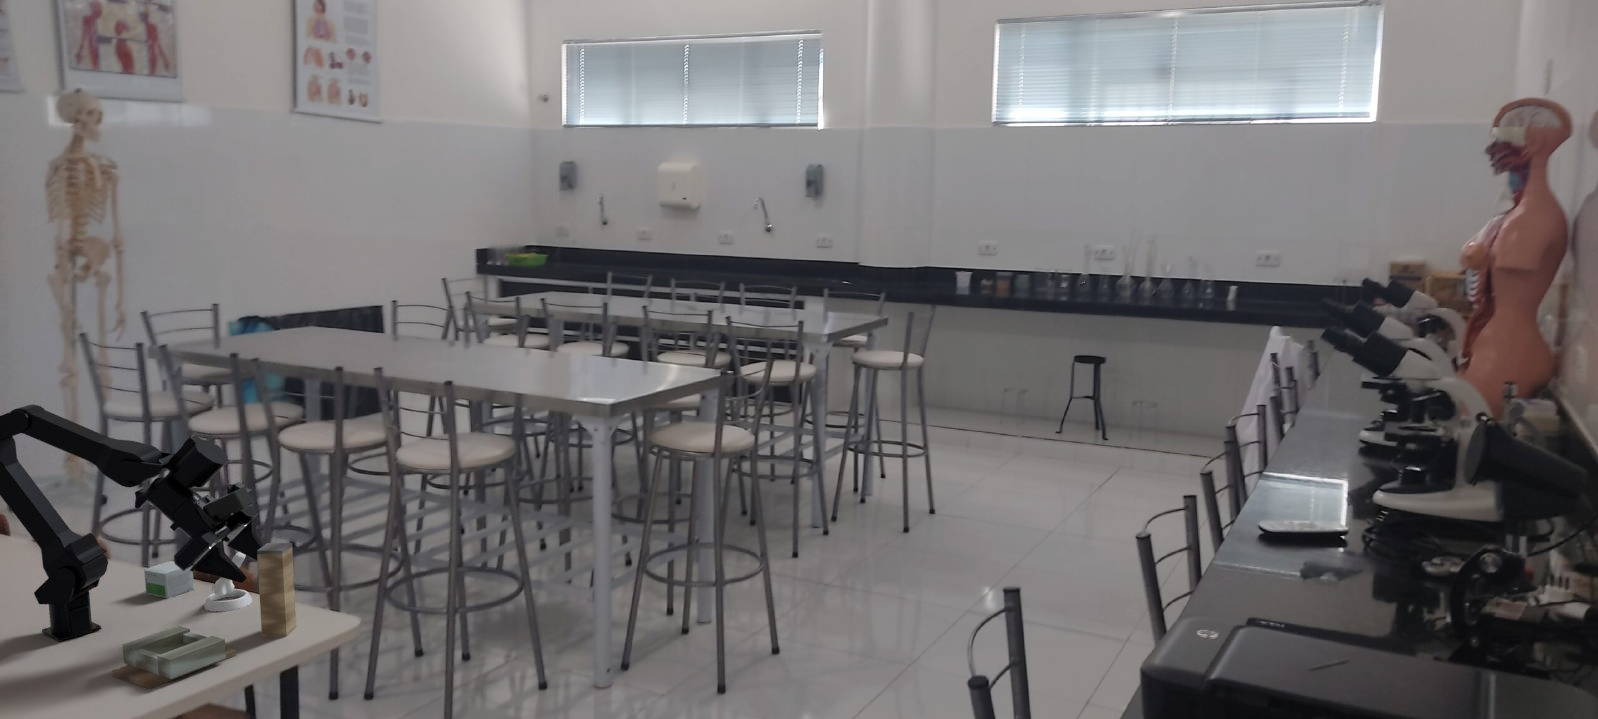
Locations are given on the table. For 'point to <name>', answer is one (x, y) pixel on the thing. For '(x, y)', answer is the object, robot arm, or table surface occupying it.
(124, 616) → the table surface
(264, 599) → the rail post
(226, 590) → the white stemmed ring
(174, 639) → the socket
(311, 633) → the table surface
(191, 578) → the small box
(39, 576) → the table surface
